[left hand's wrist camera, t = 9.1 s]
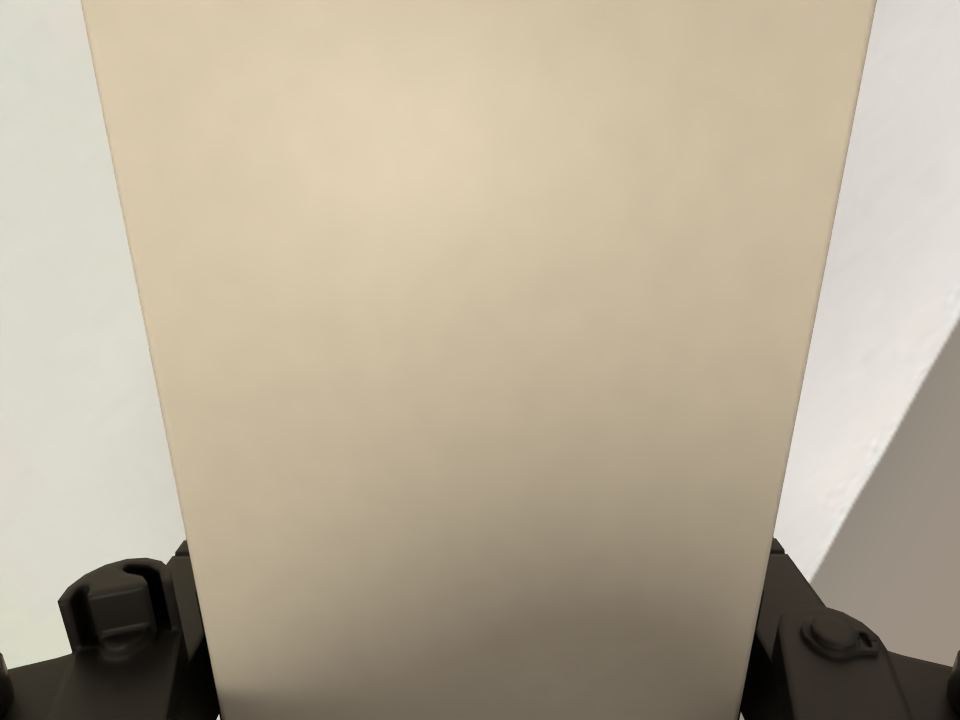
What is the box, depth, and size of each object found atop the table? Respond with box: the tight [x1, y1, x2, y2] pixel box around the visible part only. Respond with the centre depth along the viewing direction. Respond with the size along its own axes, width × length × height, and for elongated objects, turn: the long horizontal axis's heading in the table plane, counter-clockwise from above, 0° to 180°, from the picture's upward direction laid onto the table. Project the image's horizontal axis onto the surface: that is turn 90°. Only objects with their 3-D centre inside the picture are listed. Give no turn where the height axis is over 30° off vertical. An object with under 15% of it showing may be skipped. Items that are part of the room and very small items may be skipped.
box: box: [81, 0, 877, 720], centre depth 9 cm, size 21×6×8 cm, turn 0°
